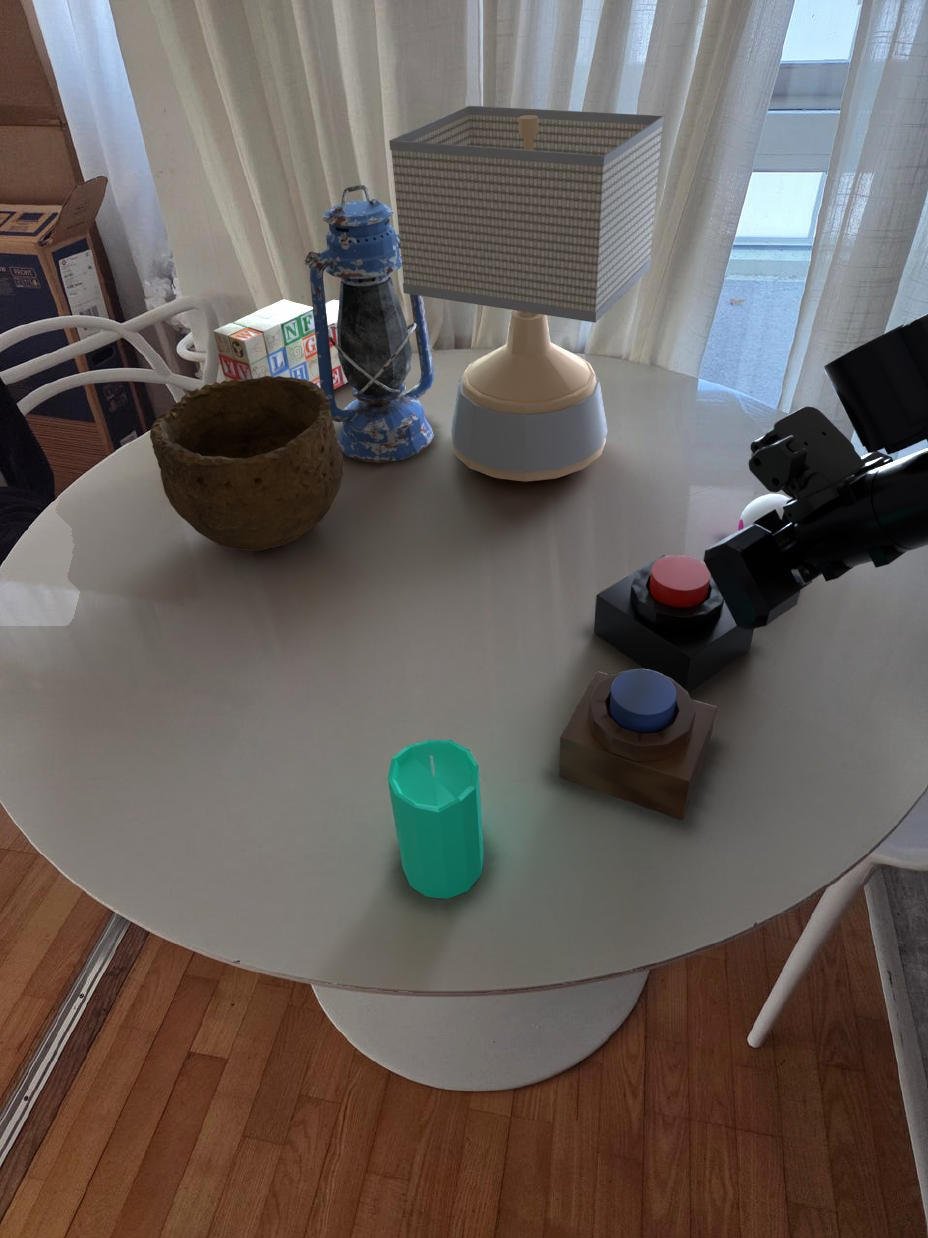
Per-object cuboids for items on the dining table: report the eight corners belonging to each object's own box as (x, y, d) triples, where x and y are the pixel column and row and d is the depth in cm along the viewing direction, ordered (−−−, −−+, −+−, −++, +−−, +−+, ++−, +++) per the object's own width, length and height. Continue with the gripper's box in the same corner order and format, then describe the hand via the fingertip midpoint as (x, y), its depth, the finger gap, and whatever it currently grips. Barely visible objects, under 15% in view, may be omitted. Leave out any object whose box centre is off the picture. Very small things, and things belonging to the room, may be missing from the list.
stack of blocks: (343, 360, 129) (331, 277, 121) (373, 369, 126) (363, 285, 118) (233, 416, 117) (211, 328, 109) (263, 429, 114) (243, 339, 106)
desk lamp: (638, 435, 108) (670, 101, 84) (580, 513, 96) (598, 148, 72) (485, 404, 116) (474, 92, 92) (414, 472, 104) (379, 132, 80)
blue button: (681, 698, 66) (684, 679, 64) (662, 742, 63) (665, 723, 61) (621, 680, 68) (623, 661, 66) (600, 721, 64) (602, 702, 63)
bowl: (197, 605, 87) (156, 478, 77) (174, 510, 100) (136, 392, 90) (374, 557, 92) (356, 432, 82) (329, 473, 105) (309, 357, 95)
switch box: (750, 650, 78) (762, 595, 74) (683, 697, 74) (693, 641, 70) (658, 592, 85) (665, 539, 81) (593, 632, 81) (597, 578, 77)
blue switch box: (709, 746, 70) (721, 690, 66) (681, 820, 65) (692, 765, 60) (593, 709, 74) (597, 654, 69) (558, 776, 68) (560, 721, 64)
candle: (388, 883, 62) (368, 779, 54) (422, 818, 66) (408, 712, 58) (465, 910, 60) (456, 805, 52) (495, 841, 64) (491, 735, 56)
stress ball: (747, 549, 95) (720, 499, 93) (819, 526, 90) (792, 473, 88) (733, 587, 89) (704, 535, 87) (809, 565, 84) (780, 510, 82)
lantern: (353, 476, 104) (312, 214, 84) (311, 436, 112) (265, 188, 92) (461, 438, 110) (446, 184, 90) (413, 402, 118) (391, 162, 98)
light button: (719, 592, 75) (722, 573, 74) (680, 616, 73) (683, 598, 72) (675, 566, 78) (678, 547, 77) (637, 588, 76) (639, 570, 75)
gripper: (926, 349, 58) (762, 434, 72) (752, 443, 50) (605, 518, 64) (999, 494, 59) (821, 550, 73) (838, 611, 51) (673, 649, 65)
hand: (734, 563), depth 69 cm, fingers closed
